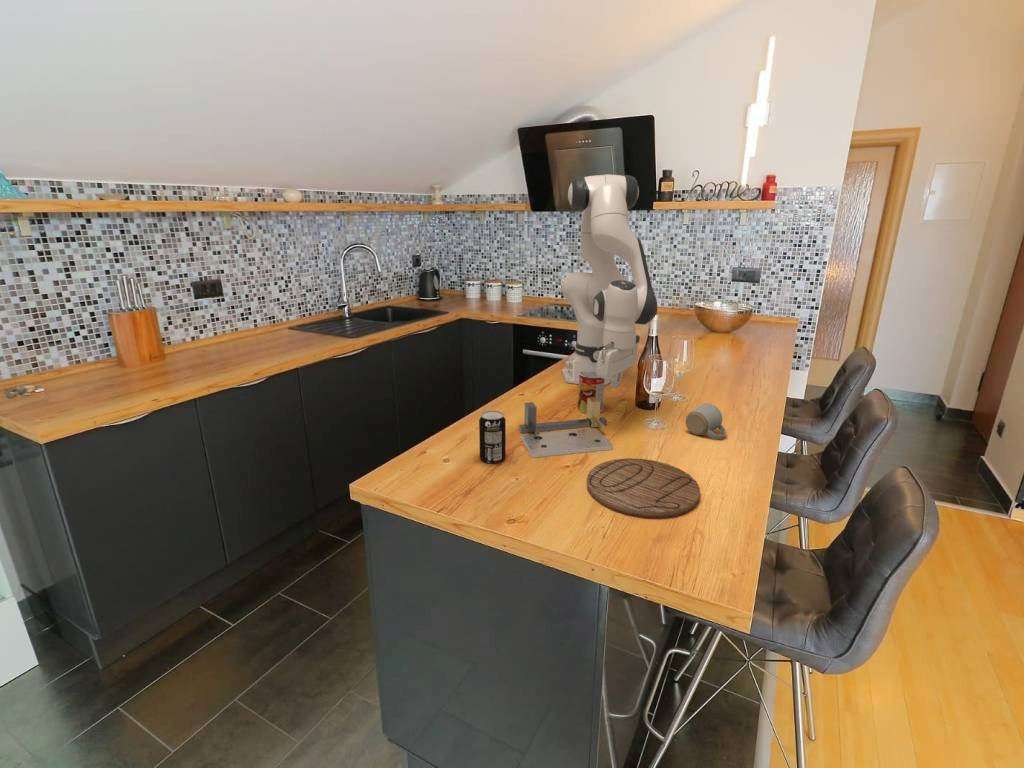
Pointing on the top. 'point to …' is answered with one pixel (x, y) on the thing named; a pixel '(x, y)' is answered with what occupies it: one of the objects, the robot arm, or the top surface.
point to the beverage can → (492, 436)
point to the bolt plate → (565, 442)
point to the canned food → (590, 389)
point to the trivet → (643, 488)
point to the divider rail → (548, 426)
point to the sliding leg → (594, 412)
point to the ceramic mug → (705, 421)
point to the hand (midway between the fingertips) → (615, 386)
